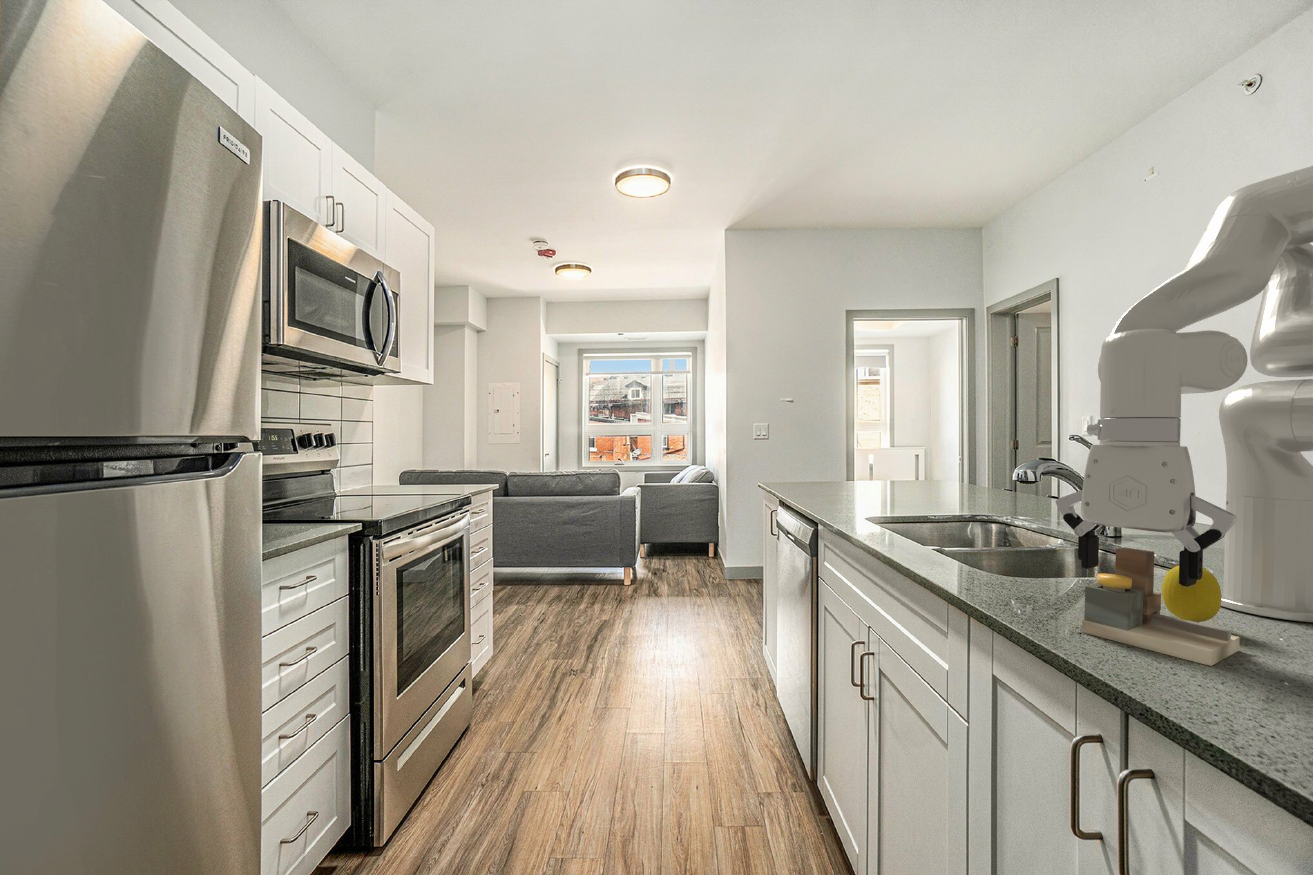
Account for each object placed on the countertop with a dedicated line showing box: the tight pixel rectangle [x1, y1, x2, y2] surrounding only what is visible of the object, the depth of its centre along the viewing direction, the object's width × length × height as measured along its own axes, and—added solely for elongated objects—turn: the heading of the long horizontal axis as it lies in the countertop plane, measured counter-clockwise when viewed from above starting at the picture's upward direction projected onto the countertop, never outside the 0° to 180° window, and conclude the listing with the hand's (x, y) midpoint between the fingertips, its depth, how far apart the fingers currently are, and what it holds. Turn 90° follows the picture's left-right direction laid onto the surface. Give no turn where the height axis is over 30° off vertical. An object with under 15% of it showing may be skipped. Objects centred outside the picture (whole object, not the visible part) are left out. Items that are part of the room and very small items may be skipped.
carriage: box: [1114, 546, 1162, 622], centre depth 71 cm, size 4×4×8 cm
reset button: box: [1096, 573, 1132, 593], centre depth 69 cm, size 3×3×5 cm
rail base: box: [1081, 582, 1241, 667], centre depth 67 cm, size 9×12×6 cm
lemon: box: [1161, 564, 1222, 623], centre depth 73 cm, size 6×6×8 cm
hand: (1136, 575), depth 71 cm, fingers open, 9 cm apart
